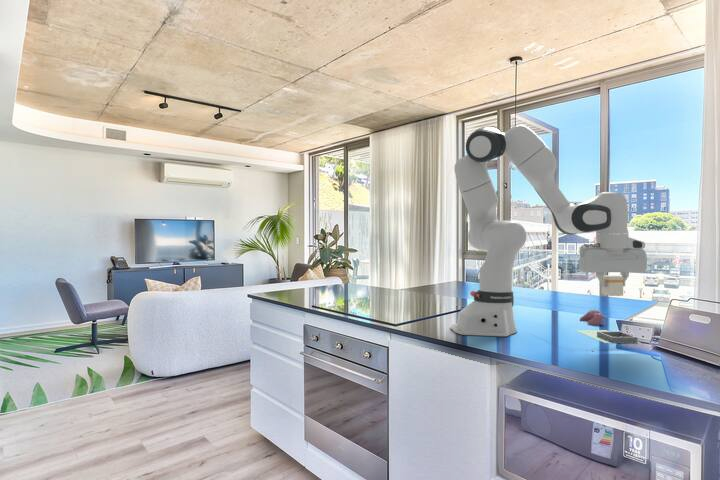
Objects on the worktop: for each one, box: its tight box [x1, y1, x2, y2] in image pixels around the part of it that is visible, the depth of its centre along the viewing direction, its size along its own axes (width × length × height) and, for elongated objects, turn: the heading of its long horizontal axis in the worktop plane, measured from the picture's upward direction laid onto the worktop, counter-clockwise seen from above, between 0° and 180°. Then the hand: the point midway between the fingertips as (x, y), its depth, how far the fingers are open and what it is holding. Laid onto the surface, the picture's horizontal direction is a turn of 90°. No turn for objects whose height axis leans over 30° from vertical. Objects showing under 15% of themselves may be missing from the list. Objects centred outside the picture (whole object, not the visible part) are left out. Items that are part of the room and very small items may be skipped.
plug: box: [601, 274, 624, 297], centre depth 130 cm, size 4×4×6 cm
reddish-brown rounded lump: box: [579, 309, 605, 326], centre depth 154 cm, size 10×5×7 cm, turn 169°
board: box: [574, 329, 641, 344], centre depth 132 cm, size 11×17×2 cm, turn 1°
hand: (612, 286), depth 130 cm, fingers closed on plug, 4 cm apart
